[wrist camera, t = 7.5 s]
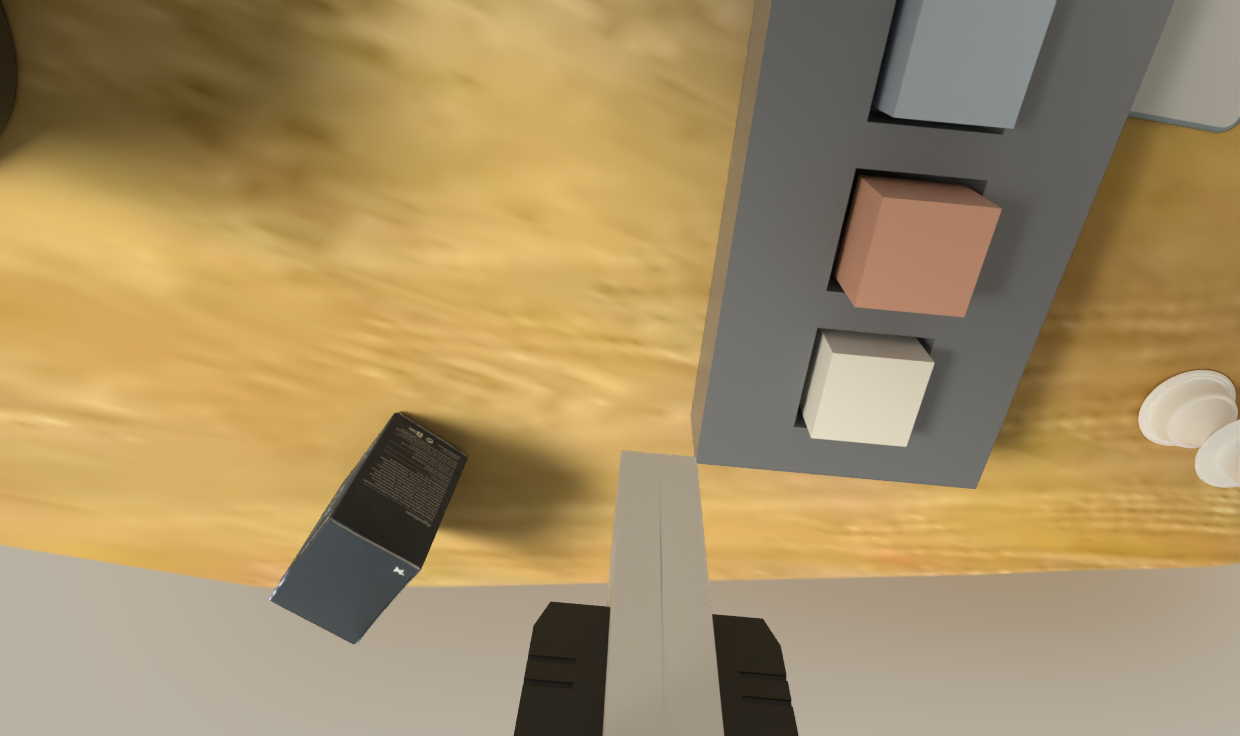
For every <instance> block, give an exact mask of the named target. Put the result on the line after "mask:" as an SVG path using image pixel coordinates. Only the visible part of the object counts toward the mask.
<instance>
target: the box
mask: <svg viewBox="0 0 1240 736" xmlns="http://www.w3.org/2000/svg"><path fill="white" fill-rule="evenodd" d="M466 461H467V455H466V454H464V453H463V452H461V451H459V450H458V449H456V448H455V447H453V446H452V445H450V444H448V443H447V442H445V441H444V440H443V439H441V438H439V437H437V436H436V435H434V434H433V433H431V432H430V431H428V430H426V429H425V428H423V427H422V426H420V425H418V424H417V423H415V422H414V421H412V420H410V419H409V418H407V417H405V416H404V415H403V414H401V413H394V414H393V416H392V417H391V419H390V420H389V421H388V423H387V424H386V426H385V427H384V428H383V430H382V431H381V432H380V434H379V435H378V437H377V438H376V439H375V441H374V442H373V443H372V445H371V446H370V448H369V449H368V450H367V452H366V453H365V454H364V456H363V457H362V458H361V460H360V461H359V463H358V464H357V465H356V467H355V468H354V469H353V470H352V471H351V473H350V474H349V476H348V477H347V478H346V479H345V481H344V482H343V483H342V485H341V486H340V488H339V490H338V491H337V493H336V494H335V496H334V497H333V499H332V501H331V502H330V504H329V505H328V507H327V508H326V510H325V512H324V513H323V514H322V516H321V518H320V519H319V521H318V523H317V524H316V526H315V527H314V529H313V530H312V532H311V534H310V535H309V537H308V538H307V540H306V542H305V543H304V545H303V546H302V548H301V550H300V551H299V553H298V554H297V556H296V557H295V559H294V560H293V562H292V564H291V565H290V567H289V568H288V570H287V571H286V573H285V574H284V576H283V577H282V579H281V580H280V582H279V584H278V585H277V587H276V588H275V590H274V592H273V594H272V595H271V597H270V601H272V602H274V603H276V604H277V605H279V606H281V607H283V608H285V609H287V610H289V611H290V612H292V613H295V614H296V615H298V616H300V617H302V618H304V619H306V620H308V621H310V622H312V623H314V624H316V625H317V626H320V627H321V628H323V629H325V630H327V631H329V632H331V633H333V634H335V635H337V636H339V637H341V638H342V639H344V640H346V641H348V642H350V643H352V644H357V643H359V642H360V640H361V638H362V637H363V636H364V634H365V633H366V632H367V631H368V629H369V628H370V627H371V626H372V625H373V623H374V622H375V621H376V620H377V619H378V617H379V616H380V615H381V614H382V613H383V611H384V610H385V609H386V608H387V607H388V606H389V604H391V602H392V601H393V600H394V599H395V598H396V597H397V595H398V594H399V593H400V592H401V591H402V590H403V589H404V588H405V587H406V586H407V584H408V583H409V582H410V581H411V580H412V579H413V578H414V577H415V576H416V575H417V574H418V573H419V572H420V570H421V569H422V566H423V563H424V561H425V559H426V557H427V554H428V552H429V550H430V547H431V545H432V542H433V540H434V538H435V535H436V533H437V530H438V528H439V526H440V523H441V521H442V518H443V516H444V514H445V511H446V509H447V507H448V504H449V501H450V499H451V496H452V494H453V492H454V490H455V487H456V485H457V482H458V480H459V478H460V475H461V473H462V470H463V468H464V465H465V463H466Z"/></svg>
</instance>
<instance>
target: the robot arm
mask: <svg viewBox="0 0 1240 736" xmlns="http://www.w3.org/2000/svg"><path fill="white" fill-rule="evenodd" d="M15 91H16V61H15V53H14V47H13V42H12V38H11V34H10V30H9V26H8V23H7V20H6V17H5V14H4V12H3V9H2V6H1V4H0V133H1V132H2V130H3V128H4V127H5V125H6V123H7V121H8V118H9V116H10V113H11V110H12V107H13V103H14V98H15ZM514 736H798V731H797V726H796V721H795V716H794V711H793V707H792V706H791V696H790V691H789V685H788V682H787V681H786V671H785V666H784V660H783V655H782V651H781V646H780V644H779V643H778V641H777V639H776V638H775V636H774V635H773V634H772V632H771V630H770V629H769V627H768V626H767V624H766V623H765V621H764V620H763V619H760V618H748V617H737V616H726V615H715V614H712V610H711V600H710V590H709V580H708V570H707V560H706V550H705V540H704V530H703V520H702V510H701V500H700V490H699V480H698V470H697V460H696V457H689V456H678V455H667V454H656V453H645V452H634V451H623V450H621V459H620V469H619V478H618V488H617V497H616V507H615V517H614V526H613V536H612V546H611V556H610V571H609V587H608V600H607V607H605V606H594V605H582V604H571V603H560V602H550V603H549V605H548V606H547V608H546V609H545V610H544V612H543V613H542V615H541V616H540V617H539V619H538V620H537V622H536V623H535V625H534V626H533V632H532V637H531V643H530V649H529V654H528V661H527V665H526V671H525V676H524V684H523V687H522V693H521V698H520V704H519V709H518V715H517V720H516V726H515V731H514Z"/></svg>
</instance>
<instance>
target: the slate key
mask: <svg viewBox="0 0 1240 736" xmlns="http://www.w3.org/2000/svg"><path fill="white" fill-rule="evenodd" d="M1056 1H1057V0H896V3H895V8H894V12H893V16H892V20H891V24H890V28H889V33H888V37H887V41H886V45H885V49H884V53H883V58H882V62H881V66H880V70H879V74H878V78H877V82H876V87H875V91H874V95H873V99H872V103H871V106H873V107H875V108H877V109H879V110H880V111H882V112H884V113H886V114H888V115H890V116H892V117H894V118H905V119H915V120H926V121H936V122H947V123H957V124H968V125H978V126H989V127H999V128H1010V129H1014V126H1015V123H1016V120H1017V117H1018V114H1019V111H1020V108H1021V105H1022V102H1023V99H1024V96H1025V93H1026V90H1027V87H1028V84H1029V81H1030V78H1031V75H1032V72H1033V69H1034V66H1035V63H1036V60H1037V57H1038V54H1039V51H1040V48H1041V46H1042V43H1043V40H1044V37H1045V34H1046V31H1047V28H1048V25H1049V22H1050V19H1051V16H1052V13H1053V10H1054V7H1055V4H1056Z"/></svg>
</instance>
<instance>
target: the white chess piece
mask: <svg viewBox="0 0 1240 736" xmlns="http://www.w3.org/2000/svg"><path fill="white" fill-rule="evenodd" d="M1235 400H1236V392H1235V388H1234V385H1233V384H1232V382H1231V381H1230V380H1229V379H1228V378H1227V377H1226V376H1224V375H1223V374H1221V373H1218V372H1215V371H1211V370H1193V371H1188V372H1184V373H1181V374H1178V375H1176V376H1173V377H1171V378H1169V379H1167V380H1166V381H1164V382H1163V383H1161V384H1160V385H1158V386H1157V387H1156V388H1155V389H1154V390H1153V391H1152V392H1151V393H1150V394H1149V395H1148V396H1147V398H1146V399H1145V400H1144V402H1143V404H1142V406H1141V408H1140V411H1139V416H1138V423H1139V427H1140V430H1141V432H1142V433H1143V435H1144V436H1145V437H1146V438H1147V439H1149V440H1150V441H1152V442H1154V443H1157V444H1160V445H1166V446H1180V447H1184V448H1199V447H1200V448H1199V450H1198V452H1197V455H1196V458H1195V470H1196V473H1197V475H1198V476H1199V478H1200V479H1201V480H1202V481H1204V482H1205V483H1207V484H1209V485H1212V486H1216V487H1223V488H1230V487H1238V486H1240V419H1239V420H1236V419H1237V416H1238V409H1237V406H1236V403H1235Z"/></svg>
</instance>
